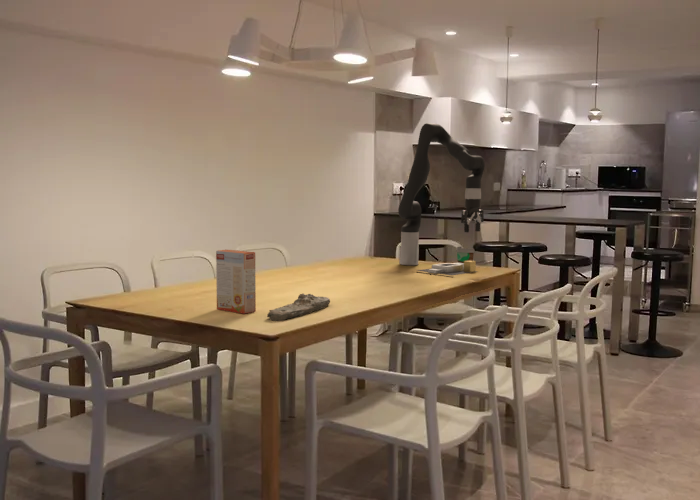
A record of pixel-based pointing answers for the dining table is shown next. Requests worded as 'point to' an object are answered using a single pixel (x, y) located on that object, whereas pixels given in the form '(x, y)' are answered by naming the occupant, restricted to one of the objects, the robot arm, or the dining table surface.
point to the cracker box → (236, 281)
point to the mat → (445, 273)
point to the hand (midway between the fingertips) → (472, 231)
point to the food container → (464, 254)
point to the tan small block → (469, 266)
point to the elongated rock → (299, 307)
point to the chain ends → (446, 268)
